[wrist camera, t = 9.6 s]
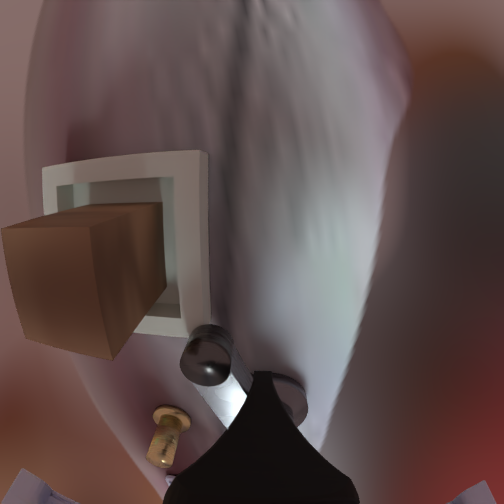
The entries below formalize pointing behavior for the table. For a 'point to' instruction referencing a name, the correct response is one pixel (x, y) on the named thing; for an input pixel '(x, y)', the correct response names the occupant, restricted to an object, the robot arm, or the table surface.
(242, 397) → the crank
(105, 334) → the block
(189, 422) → the crank base
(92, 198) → the tray
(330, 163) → the table surface
